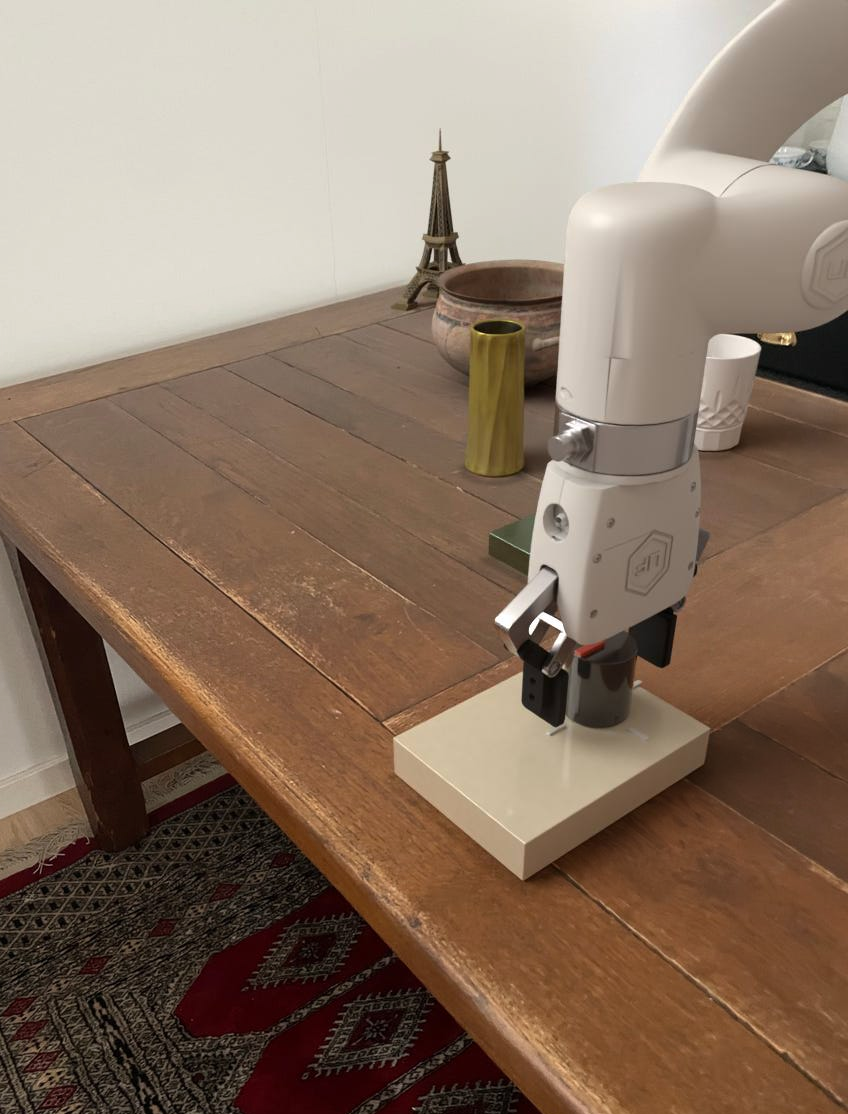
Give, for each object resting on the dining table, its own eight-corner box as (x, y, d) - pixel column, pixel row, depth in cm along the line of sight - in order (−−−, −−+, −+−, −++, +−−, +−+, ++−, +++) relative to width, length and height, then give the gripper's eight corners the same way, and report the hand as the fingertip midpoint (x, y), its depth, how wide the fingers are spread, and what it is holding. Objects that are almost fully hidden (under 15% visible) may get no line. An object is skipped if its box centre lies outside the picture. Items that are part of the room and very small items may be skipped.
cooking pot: (400, 361, 133) (398, 264, 126) (532, 340, 137) (536, 245, 131) (481, 429, 113) (483, 318, 106) (631, 402, 118) (643, 294, 111)
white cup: (655, 444, 108) (667, 351, 102) (683, 419, 113) (695, 329, 107) (730, 460, 104) (746, 363, 98) (755, 433, 109) (771, 340, 103)
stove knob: (593, 679, 69) (600, 612, 66) (644, 709, 66) (654, 641, 63) (546, 704, 67) (551, 637, 64) (597, 737, 64) (604, 668, 61)
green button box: (584, 513, 95) (587, 473, 93) (660, 548, 89) (665, 507, 87) (488, 554, 90) (489, 513, 87) (562, 595, 84) (565, 552, 81)
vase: (500, 483, 101) (505, 340, 94) (452, 467, 105) (452, 328, 97) (535, 462, 105) (543, 323, 97) (488, 448, 109) (491, 313, 101)
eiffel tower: (489, 300, 154) (494, 115, 140) (449, 318, 147) (449, 126, 133) (432, 290, 160) (431, 112, 146) (391, 308, 153) (385, 122, 139)
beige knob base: (571, 678, 74) (574, 642, 72) (707, 762, 66) (714, 724, 64) (393, 773, 66) (392, 735, 65) (522, 881, 58) (525, 842, 56)
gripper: (559, 502, 49) (540, 773, 59) (780, 411, 57) (731, 661, 67) (457, 454, 54) (455, 711, 64) (673, 377, 62) (642, 614, 72)
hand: (596, 685), depth 65 cm, fingers open, 9 cm apart
